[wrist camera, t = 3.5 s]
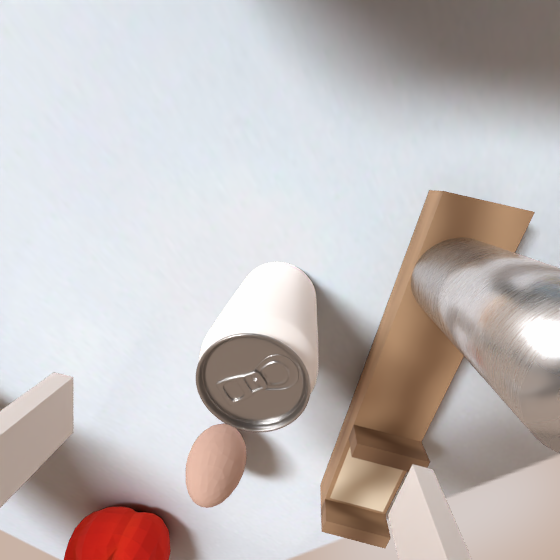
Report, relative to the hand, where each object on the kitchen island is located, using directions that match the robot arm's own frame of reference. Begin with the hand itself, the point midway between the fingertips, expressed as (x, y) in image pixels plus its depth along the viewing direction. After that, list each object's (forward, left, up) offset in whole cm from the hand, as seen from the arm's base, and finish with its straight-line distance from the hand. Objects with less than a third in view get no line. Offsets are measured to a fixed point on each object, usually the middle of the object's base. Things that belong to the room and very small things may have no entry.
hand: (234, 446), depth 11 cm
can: (0, 0, -15) cm, 15 cm away
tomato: (-11, -34, -16) cm, 39 cm away
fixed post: (+12, +6, -13) cm, 18 cm away
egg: (-2, -16, -15) cm, 22 cm away
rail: (+12, -4, -15) cm, 20 cm away
